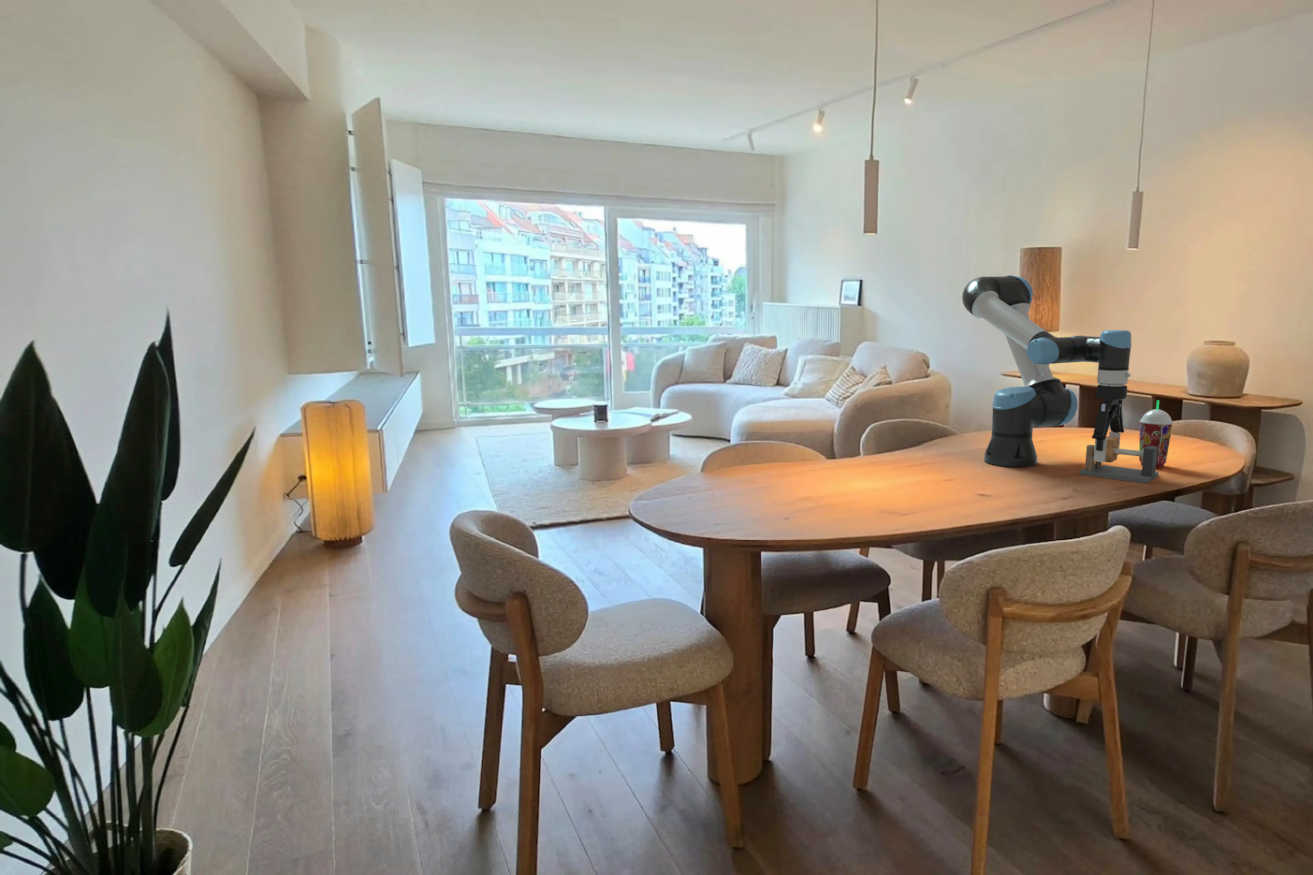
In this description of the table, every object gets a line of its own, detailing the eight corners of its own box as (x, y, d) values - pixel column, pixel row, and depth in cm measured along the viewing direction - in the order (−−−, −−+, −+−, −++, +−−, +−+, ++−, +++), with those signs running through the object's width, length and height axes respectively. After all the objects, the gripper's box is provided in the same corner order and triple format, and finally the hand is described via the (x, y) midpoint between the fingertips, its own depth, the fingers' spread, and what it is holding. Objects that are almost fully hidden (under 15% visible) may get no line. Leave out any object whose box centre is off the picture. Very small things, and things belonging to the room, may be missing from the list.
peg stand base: (1079, 474, 219) (1081, 444, 217) (1092, 467, 227) (1094, 438, 225) (1147, 483, 206) (1150, 451, 205) (1158, 475, 215) (1161, 444, 213)
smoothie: (1175, 468, 223) (1181, 401, 219) (1146, 469, 223) (1152, 402, 219) (1157, 462, 231) (1163, 398, 227) (1129, 463, 231) (1135, 399, 227)
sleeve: (1095, 460, 218) (1096, 438, 217) (1101, 457, 222) (1103, 436, 221) (1110, 462, 215) (1112, 440, 214) (1116, 459, 219) (1118, 437, 218)
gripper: (1114, 389, 203) (1108, 466, 207) (1139, 381, 220) (1133, 452, 224) (1083, 388, 209) (1078, 463, 212) (1110, 380, 226) (1105, 449, 229)
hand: (1106, 457), depth 218 cm, fingers open, 12 cm apart
